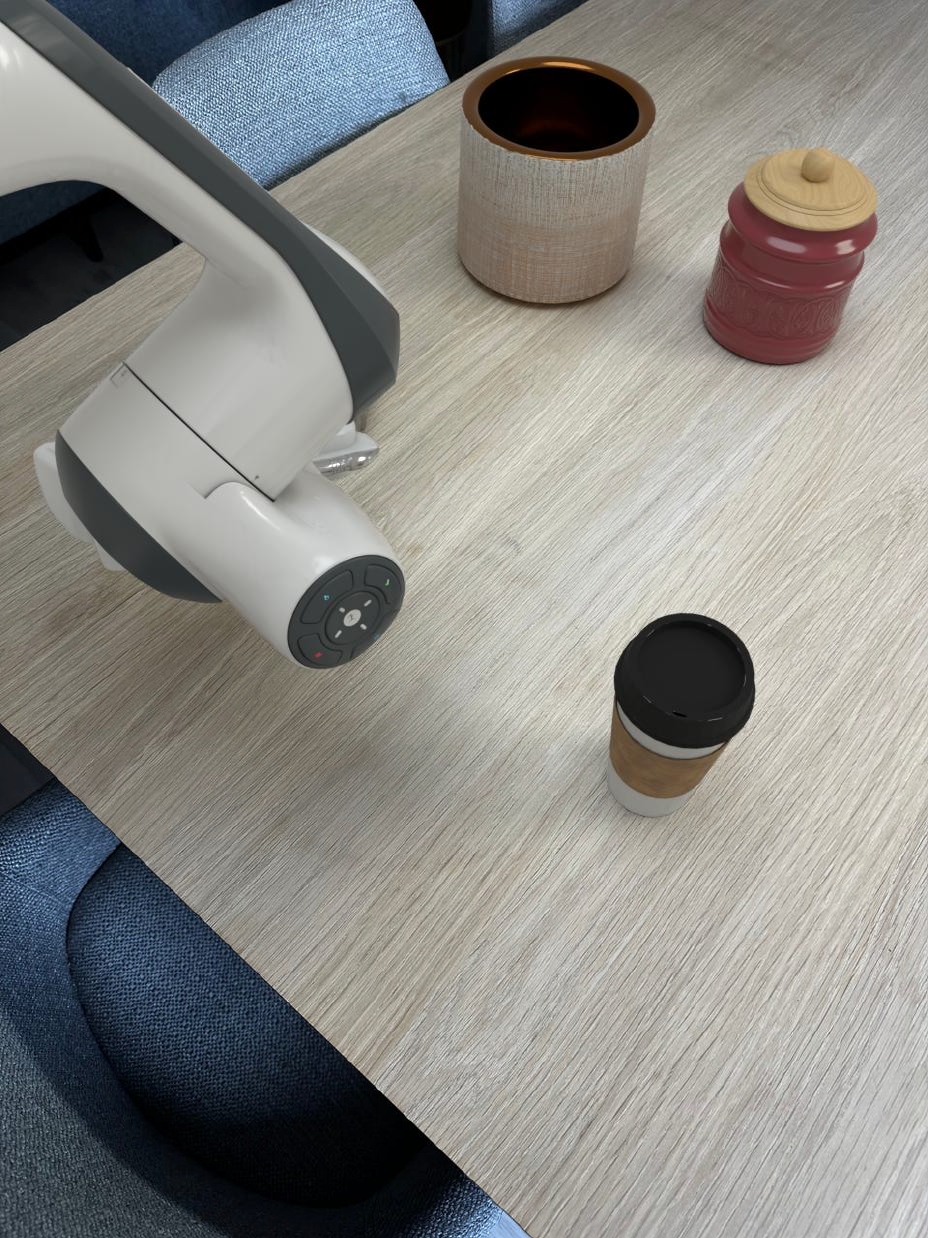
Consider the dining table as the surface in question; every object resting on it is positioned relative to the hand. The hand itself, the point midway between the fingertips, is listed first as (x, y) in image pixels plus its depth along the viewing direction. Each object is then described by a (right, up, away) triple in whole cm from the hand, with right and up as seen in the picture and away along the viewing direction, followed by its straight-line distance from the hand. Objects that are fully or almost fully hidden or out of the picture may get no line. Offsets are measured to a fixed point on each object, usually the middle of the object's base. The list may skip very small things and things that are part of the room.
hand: (168, 414), depth 73 cm
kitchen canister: (+50, +14, +28) cm, 59 cm away
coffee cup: (+34, -26, 0) cm, 42 cm away
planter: (+29, +23, +33) cm, 49 cm away
